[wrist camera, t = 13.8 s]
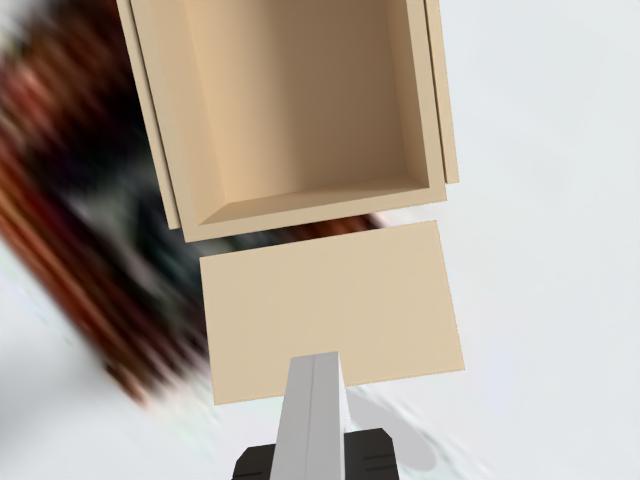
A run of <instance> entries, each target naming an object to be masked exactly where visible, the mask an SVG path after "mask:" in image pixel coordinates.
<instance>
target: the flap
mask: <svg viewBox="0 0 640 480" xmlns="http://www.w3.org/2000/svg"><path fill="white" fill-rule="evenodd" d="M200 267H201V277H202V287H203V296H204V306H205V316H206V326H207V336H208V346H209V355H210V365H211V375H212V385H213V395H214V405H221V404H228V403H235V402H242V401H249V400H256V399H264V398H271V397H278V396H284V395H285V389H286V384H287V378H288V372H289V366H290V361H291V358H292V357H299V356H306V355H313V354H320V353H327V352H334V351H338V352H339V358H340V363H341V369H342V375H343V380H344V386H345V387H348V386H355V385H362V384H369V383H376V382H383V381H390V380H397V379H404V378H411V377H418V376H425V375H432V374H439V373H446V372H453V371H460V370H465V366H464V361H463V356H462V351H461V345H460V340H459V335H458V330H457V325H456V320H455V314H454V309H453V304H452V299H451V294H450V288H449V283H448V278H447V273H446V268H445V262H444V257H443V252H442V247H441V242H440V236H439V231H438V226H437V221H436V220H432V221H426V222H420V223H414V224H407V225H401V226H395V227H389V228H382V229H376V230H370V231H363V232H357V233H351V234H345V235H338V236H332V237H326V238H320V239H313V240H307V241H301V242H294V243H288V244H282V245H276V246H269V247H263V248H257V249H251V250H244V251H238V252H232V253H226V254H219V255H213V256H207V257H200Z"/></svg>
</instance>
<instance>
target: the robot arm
mask: <svg viewBox="0 0 640 480" xmlns="http://www.w3.org/2000/svg"><path fill="white" fill-rule="evenodd" d="M231 480H399V475H398V469H397V464H396V458H395V453H394V447H393V442H392V438H391V437H390V436H389V435H388V434H387V433H386V432H385V431H384V430H383V429H382V428H377V429H370V430H362V431H355V432H352V426H351V421H350V415H349V409H348V404H347V398H346V392H345V386H344V380H343V375H342V369H341V363H340V358H339V352H338V351H334V352H327V353H320V354H313V355H306V356H299V357H292V358H291V361H290V366H289V372H288V378H287V384H286V389H285V395H284V401H283V406H282V412H281V418H280V424H279V429H278V435H277V441H276V444H270V445H262V446H255V447H248V448H247V449H246V450H245V452H244V453H243V454H242V455H241V456H240V458H239V459H238V460H237V462H236V465H235V469H234V472H233V479H231Z"/></svg>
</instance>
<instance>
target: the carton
mask: <svg viewBox="0 0 640 480" xmlns="http://www.w3.org/2000/svg"><path fill="white" fill-rule="evenodd" d="M116 1H117V5H118V10H119V14H120V18H121V22H122V27H123V31H124V35H125V40H126V44H127V48H128V53H129V57H130V61H131V66H132V70H133V74H134V79H135V83H136V87H137V91H138V96H139V100H140V104H141V109H142V113H143V117H144V122H145V126H146V130H147V135H148V139H149V143H150V147H151V152H152V156H153V160H154V165H155V169H156V173H157V178H158V182H159V186H160V191H161V195H162V199H163V204H164V208H165V212H166V216H167V221H168V225H169V229H176V228H181V227H182V229H183V233H184V238H185V242H186V243H187V242H194V241H200V240H206V239H212V238H218V237H225V236H231V235H237V234H243V233H249V232H255V231H262V230H268V229H274V228H280V227H286V226H293V225H299V224H305V223H311V222H317V221H324V220H330V219H336V218H342V217H348V216H355V215H361V214H367V213H373V212H379V211H385V210H392V209H398V208H404V207H410V206H416V205H423V204H429V203H435V202H441V201H447V196H446V188H445V183H447V184H452V183H458V182H459V175H458V166H457V157H456V148H455V140H454V131H453V122H452V113H451V104H450V95H449V87H448V78H447V69H446V60H445V51H444V42H443V34H442V25H441V16H440V7H439V0H116Z"/></svg>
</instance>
